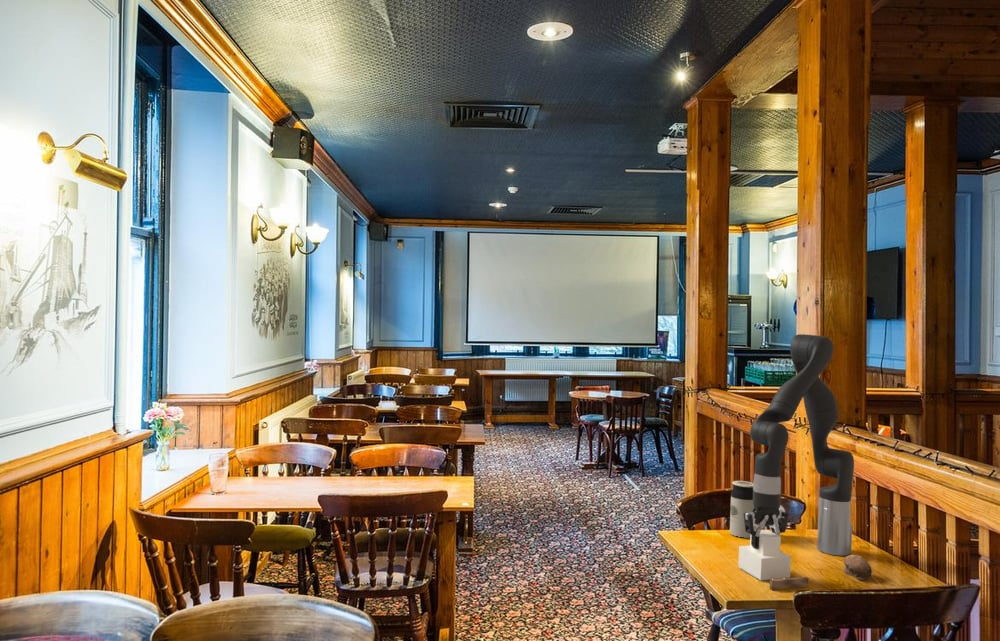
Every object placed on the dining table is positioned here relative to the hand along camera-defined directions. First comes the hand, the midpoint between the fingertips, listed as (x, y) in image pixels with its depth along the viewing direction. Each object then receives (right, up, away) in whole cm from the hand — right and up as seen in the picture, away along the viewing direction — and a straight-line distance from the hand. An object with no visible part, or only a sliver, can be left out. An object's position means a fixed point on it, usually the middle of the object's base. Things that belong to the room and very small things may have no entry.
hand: (764, 547), depth 192 cm
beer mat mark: (0, -8, 0) cm, 8 cm away
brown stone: (+28, -9, +1) cm, 29 cm away
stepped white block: (0, -7, 0) cm, 7 cm away
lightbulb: (+19, -9, +38) cm, 43 cm away
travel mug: (+7, -8, +36) cm, 38 cm away
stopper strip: (+3, -8, -10) cm, 13 cm away
